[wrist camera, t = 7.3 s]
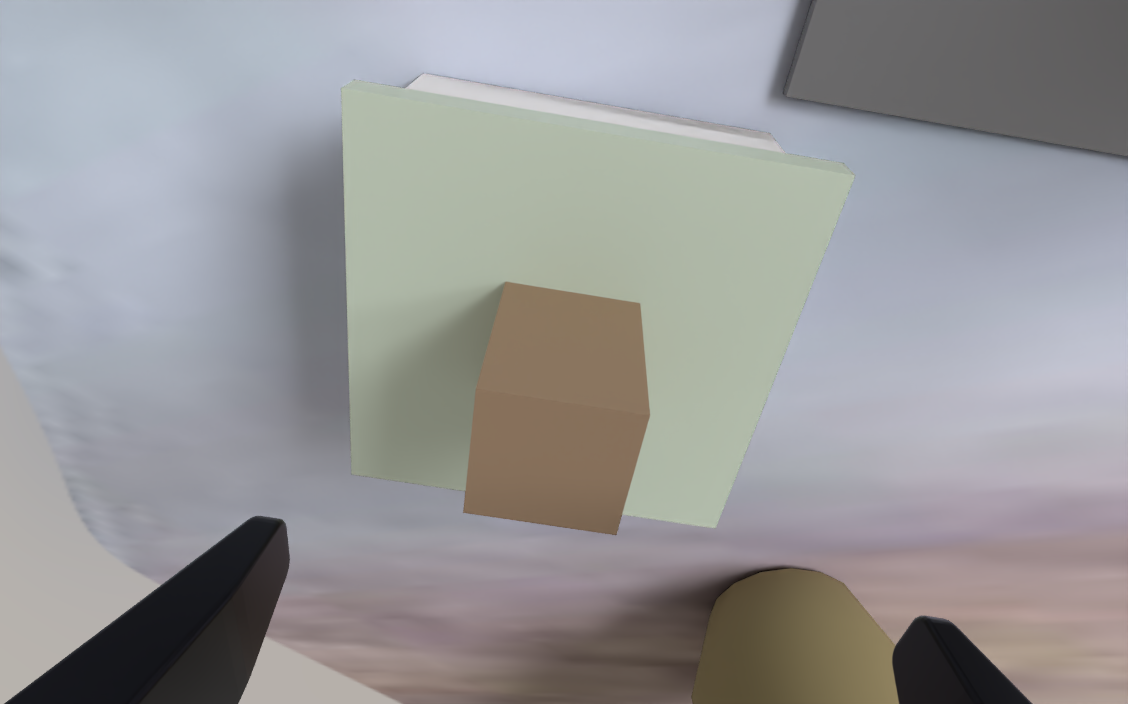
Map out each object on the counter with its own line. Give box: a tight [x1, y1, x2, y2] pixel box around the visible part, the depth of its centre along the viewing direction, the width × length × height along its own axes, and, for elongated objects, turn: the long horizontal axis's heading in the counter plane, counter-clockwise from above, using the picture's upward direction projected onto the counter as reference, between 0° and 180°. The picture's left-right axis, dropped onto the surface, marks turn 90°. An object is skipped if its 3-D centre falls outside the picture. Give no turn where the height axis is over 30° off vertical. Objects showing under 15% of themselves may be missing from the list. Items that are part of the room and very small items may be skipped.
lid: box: [341, 80, 855, 535], centre depth 14 cm, size 10×10×5 cm
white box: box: [406, 73, 785, 153], centre depth 18 cm, size 9×9×4 cm
